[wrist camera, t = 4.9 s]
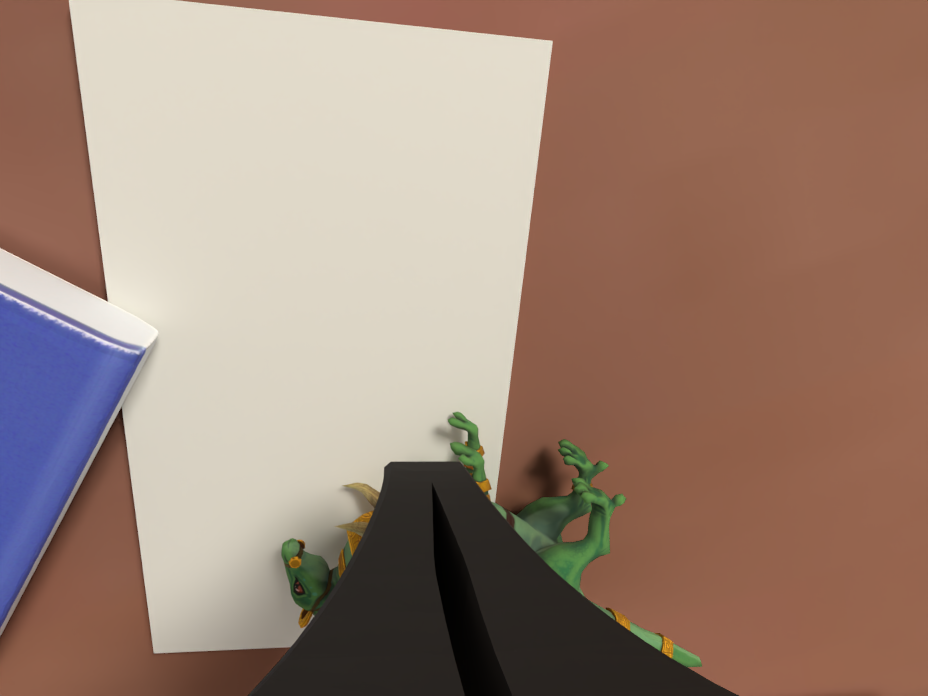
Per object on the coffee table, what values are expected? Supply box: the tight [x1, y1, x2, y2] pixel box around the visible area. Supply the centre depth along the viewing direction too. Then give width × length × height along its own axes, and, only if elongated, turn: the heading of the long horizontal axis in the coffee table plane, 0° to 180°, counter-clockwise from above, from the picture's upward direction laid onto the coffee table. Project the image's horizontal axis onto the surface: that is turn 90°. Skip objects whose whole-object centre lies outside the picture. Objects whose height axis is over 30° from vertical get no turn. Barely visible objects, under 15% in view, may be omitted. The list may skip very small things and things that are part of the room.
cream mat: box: [69, 0, 553, 653], centre depth 15 cm, size 16×9×1 cm, turn 175°
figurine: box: [281, 412, 702, 667], centre depth 16 cm, size 3×12×8 cm
